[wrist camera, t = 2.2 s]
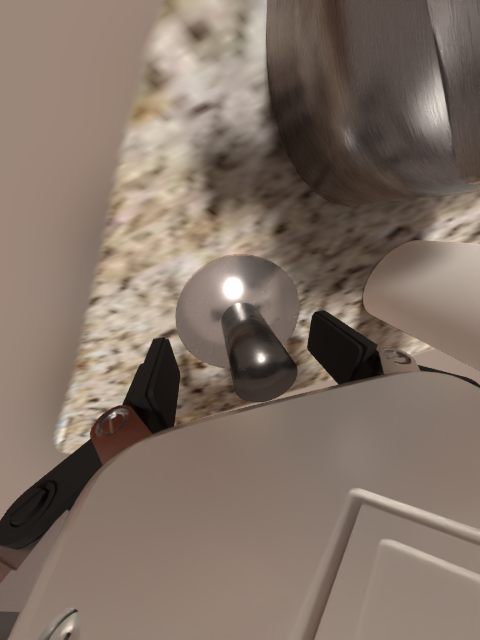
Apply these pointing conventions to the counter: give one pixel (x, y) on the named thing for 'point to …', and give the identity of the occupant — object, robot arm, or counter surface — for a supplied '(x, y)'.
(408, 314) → the cylindrical container
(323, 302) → the counter surface
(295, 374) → the lid
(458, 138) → the pot
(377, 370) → the robot arm
